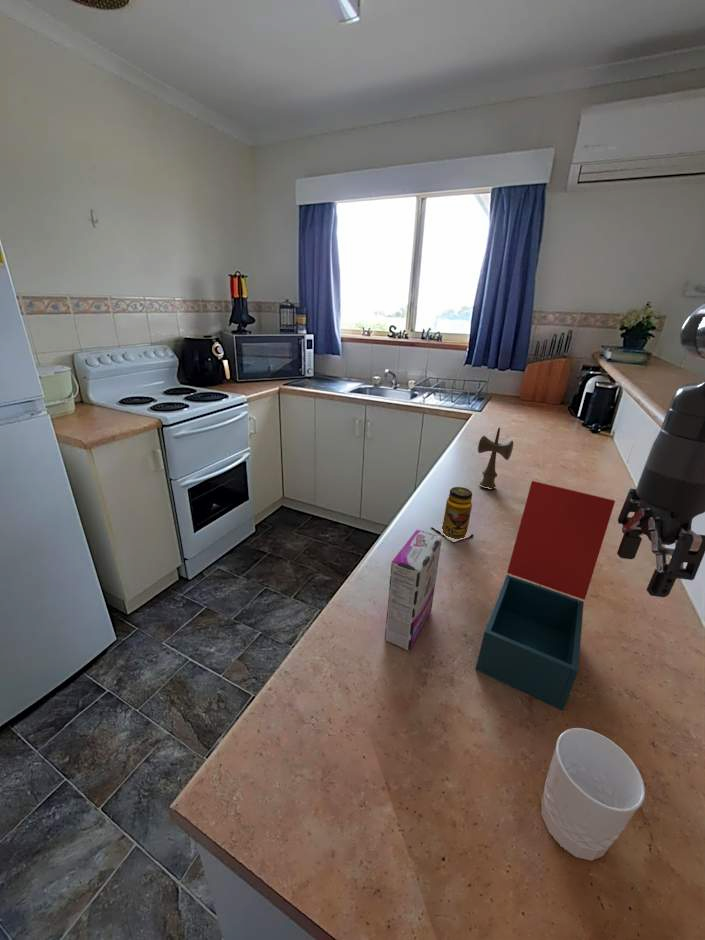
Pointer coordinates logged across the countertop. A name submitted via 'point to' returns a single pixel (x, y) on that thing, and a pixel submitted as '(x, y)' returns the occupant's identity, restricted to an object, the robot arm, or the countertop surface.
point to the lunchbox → (533, 641)
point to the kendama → (493, 457)
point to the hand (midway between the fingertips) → (639, 574)
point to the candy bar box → (412, 588)
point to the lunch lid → (560, 538)
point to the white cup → (589, 793)
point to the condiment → (457, 513)
